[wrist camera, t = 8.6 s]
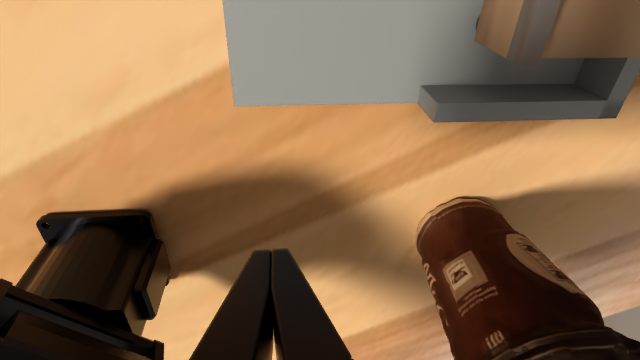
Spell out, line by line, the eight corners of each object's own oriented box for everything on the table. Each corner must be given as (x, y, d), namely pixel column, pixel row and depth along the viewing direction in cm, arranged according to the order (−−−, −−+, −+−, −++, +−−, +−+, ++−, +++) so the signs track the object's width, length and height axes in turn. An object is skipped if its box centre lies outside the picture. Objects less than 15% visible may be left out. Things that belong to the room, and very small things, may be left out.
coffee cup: (501, 160, 24) (688, 349, 13) (528, 237, 28) (685, 425, 18) (381, 221, 26) (459, 430, 15) (424, 285, 30) (508, 481, 19)
